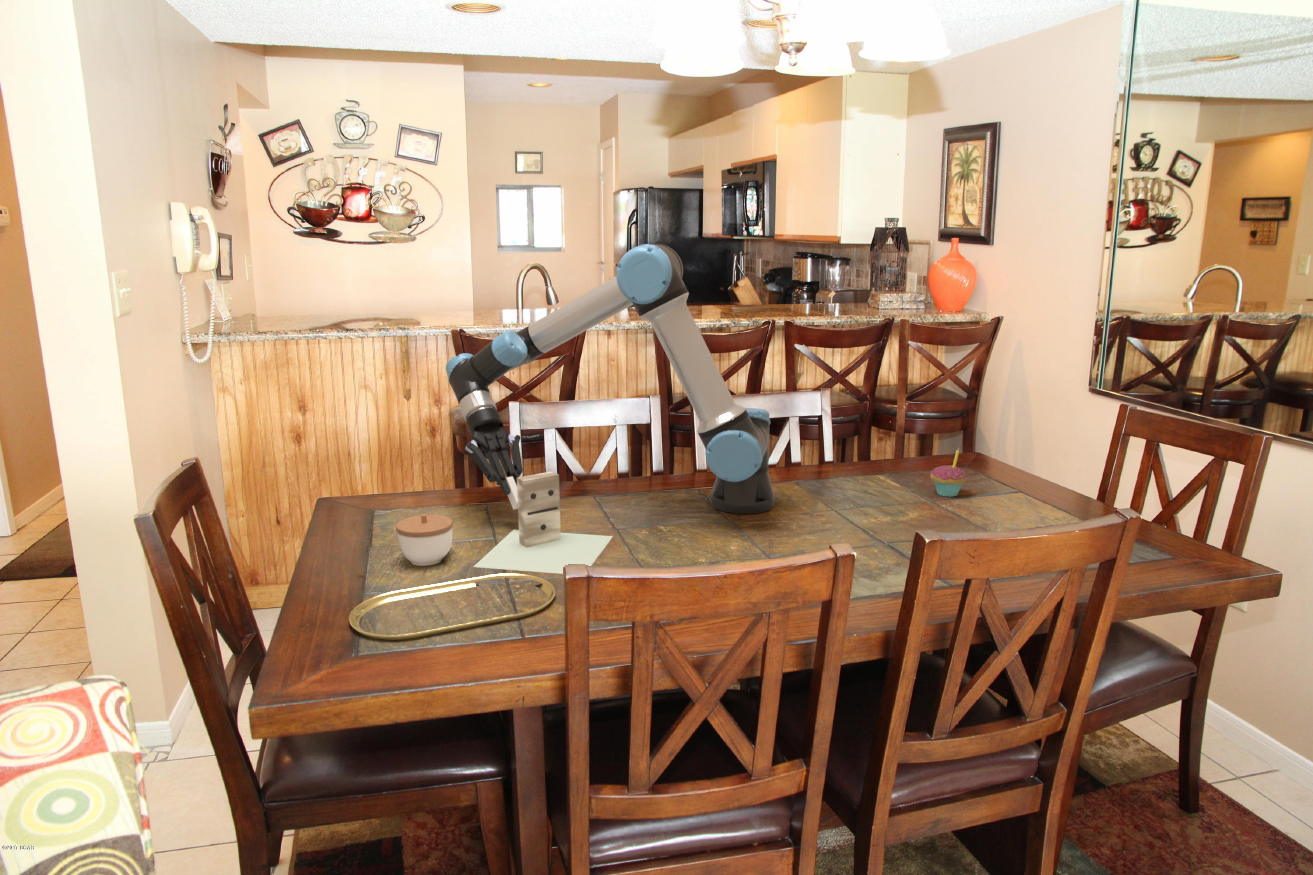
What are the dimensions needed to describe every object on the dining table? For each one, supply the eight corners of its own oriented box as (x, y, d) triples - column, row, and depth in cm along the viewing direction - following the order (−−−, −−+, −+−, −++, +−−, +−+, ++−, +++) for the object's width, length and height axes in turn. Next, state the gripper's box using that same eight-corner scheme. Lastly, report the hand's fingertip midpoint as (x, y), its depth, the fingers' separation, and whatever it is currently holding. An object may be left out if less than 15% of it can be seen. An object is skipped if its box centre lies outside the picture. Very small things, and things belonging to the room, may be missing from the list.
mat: (613, 538, 188) (613, 536, 188) (583, 578, 167) (583, 575, 167) (513, 532, 192) (513, 529, 192) (473, 569, 171) (473, 566, 171)
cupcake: (969, 492, 220) (973, 445, 217) (960, 501, 213) (964, 452, 210) (934, 487, 224) (937, 440, 221) (924, 495, 217) (927, 447, 214)
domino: (519, 543, 184) (516, 477, 181) (553, 535, 188) (551, 471, 185) (526, 547, 181) (524, 481, 178) (561, 539, 186) (559, 474, 183)
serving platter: (570, 612, 153) (570, 603, 153) (357, 653, 139) (356, 644, 139) (536, 574, 170) (536, 566, 170) (343, 608, 155) (342, 599, 155)
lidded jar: (405, 574, 169) (401, 527, 167) (393, 556, 179) (390, 511, 176) (461, 564, 174) (458, 518, 172) (446, 547, 183) (444, 503, 181)
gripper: (503, 421, 206) (540, 508, 197) (450, 429, 199) (485, 520, 190) (512, 402, 201) (550, 491, 192) (458, 409, 194) (495, 502, 184)
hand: (518, 505), depth 191 cm, fingers closed
